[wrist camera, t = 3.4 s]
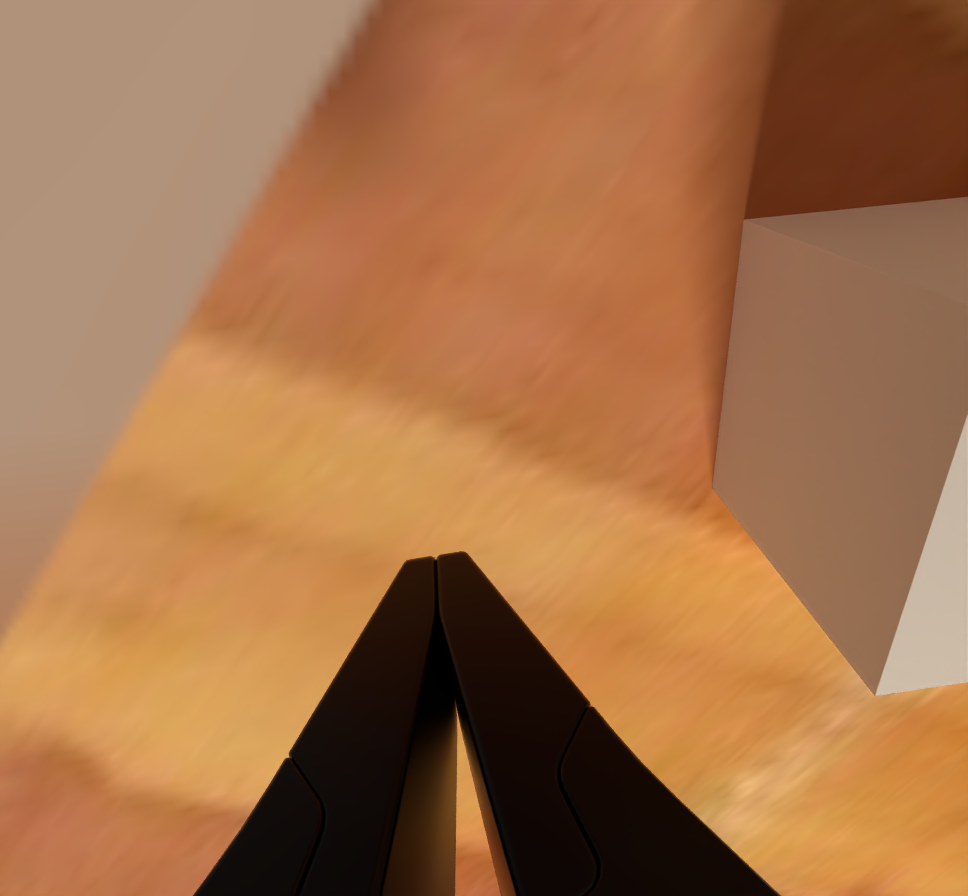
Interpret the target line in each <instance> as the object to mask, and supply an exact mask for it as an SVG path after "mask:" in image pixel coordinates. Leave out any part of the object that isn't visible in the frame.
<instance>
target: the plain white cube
mask: <svg viewBox="0 0 968 896" xmlns="http://www.w3.org/2000/svg"><path fill="white" fill-rule="evenodd" d="M712 489H713V490H714V491H715V492H716V494H717V495H718V496H719V497H720V499H721V500H722V501H723V503H724V504H725V505H726V506H727V508H728V509H729V510H730V512H731V513H732V514H733V515H734V517H735V518H736V519H737V520H738V522H739V523H740V524H741V526H742V527H743V528H744V529H745V531H746V532H747V533H748V534H749V536H750V537H751V538H752V540H753V541H754V542H755V543H756V545H757V546H758V547H759V549H760V550H761V551H762V552H763V554H764V555H765V556H766V557H767V559H768V560H769V561H770V563H771V564H772V565H773V566H774V568H775V569H776V570H777V572H778V573H779V574H780V575H781V577H782V578H783V579H784V580H785V582H786V583H787V584H788V586H789V587H790V588H791V589H792V591H793V592H794V593H795V594H796V596H797V597H798V598H799V600H800V601H801V602H802V603H803V605H804V606H805V607H806V609H807V610H808V611H809V612H810V614H811V615H812V616H813V617H814V619H815V620H816V621H817V623H818V624H819V625H820V626H821V628H822V629H823V630H824V632H825V633H826V634H827V635H828V637H829V638H830V639H831V640H832V642H833V643H834V644H835V646H836V647H837V648H838V649H839V651H840V652H841V653H842V655H843V656H844V657H845V658H846V660H847V661H848V662H849V663H850V665H851V666H852V667H853V669H854V670H855V671H856V672H857V674H858V675H859V676H860V677H861V679H862V680H863V681H864V683H865V684H866V685H867V686H868V688H869V689H870V690H871V692H872V693H873V694H874V695H875V696H878V695H885V694H892V693H898V692H905V691H911V690H918V689H925V688H931V687H938V686H945V685H951V684H958V683H964V682H968V197H960V198H950V199H941V200H931V201H921V202H911V203H901V204H892V205H882V206H872V207H862V208H852V209H843V210H833V211H823V212H813V213H803V214H793V215H784V216H774V217H764V218H754V219H744V222H743V230H742V239H741V247H740V256H739V264H738V273H737V281H736V290H735V298H734V307H733V315H732V324H731V332H730V341H729V349H728V358H727V366H726V375H725V383H724V392H723V400H722V409H721V417H720V426H719V434H718V443H717V451H716V460H715V468H714V477H713V485H712Z"/></svg>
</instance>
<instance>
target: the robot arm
mask: <svg viewBox="0 0 968 896" xmlns="http://www.w3.org/2000/svg"><path fill="white" fill-rule="evenodd" d="M456 707H457V711H456ZM457 712H458V717H459V722H460V726H461V731H462V736H463V740H464V744H465V748H466V752H467V756H468V760H469V765H470V769H471V773H472V777H473V781H474V785H475V789H476V794H477V798H478V802H479V806H480V810H481V814H482V819H483V823H484V827H485V831H486V835H487V839H488V843H489V848H490V852H491V856H492V860H493V864H494V868H495V872H496V877H497V881H498V885H499V889H500V893H501V896H781V895H780V894H779V893H778V892H776V891H775V890H774V889H773V888H772V887H771V886H770V885H769V884H768V883H767V882H766V881H765V880H764V879H763V878H762V877H760V876H759V875H758V874H757V873H756V872H755V871H754V870H753V869H752V868H751V867H750V866H749V865H748V864H747V863H746V862H745V861H744V860H742V859H741V858H740V857H739V856H738V855H737V854H736V853H735V852H734V851H733V850H732V849H731V848H730V847H729V846H728V845H727V844H726V843H725V842H723V841H722V840H721V839H720V838H719V837H718V836H717V835H716V834H715V833H714V832H713V831H712V830H711V829H710V828H709V827H708V826H707V825H705V824H704V823H703V822H702V821H701V820H700V819H699V818H698V817H697V816H696V815H695V814H694V813H693V812H692V811H691V810H690V809H689V808H688V807H686V806H685V805H684V804H683V803H682V802H681V801H680V800H679V799H678V798H677V797H676V796H675V795H674V794H673V793H672V792H671V791H670V790H669V789H668V788H667V787H666V786H665V785H664V784H663V783H662V782H661V781H660V780H659V779H658V778H657V777H656V776H655V775H654V774H653V773H652V772H651V771H650V770H649V769H648V768H647V767H646V766H645V765H644V764H643V763H642V762H641V761H640V760H639V759H638V758H637V756H636V755H635V754H634V753H633V752H632V751H631V750H630V749H629V747H628V746H627V745H626V744H625V743H624V742H623V741H622V739H621V738H620V737H619V736H618V735H617V734H616V733H615V732H614V730H613V729H612V728H611V727H610V726H609V724H608V723H607V722H606V721H605V720H604V718H603V717H602V716H601V715H600V713H599V712H598V711H597V710H596V709H595V708H594V707H592V706H591V705H590V702H589V701H588V699H587V698H586V697H585V696H584V695H583V693H582V692H581V691H580V690H579V688H578V687H577V686H576V685H575V684H574V682H573V681H572V680H571V679H570V677H569V676H568V675H567V674H566V673H565V671H564V670H563V669H562V668H561V667H560V665H559V664H558V663H557V662H556V660H555V659H554V658H553V657H552V656H551V654H550V653H549V652H548V651H547V650H546V648H545V647H544V646H543V645H542V643H541V642H540V641H539V640H538V639H537V637H536V636H535V635H534V634H533V633H532V631H531V630H530V629H529V628H528V626H527V625H526V624H525V623H524V622H523V620H522V619H521V618H520V617H519V616H518V614H517V613H516V612H515V611H514V609H513V608H512V607H511V606H510V605H509V603H508V602H507V601H506V600H505V598H504V597H503V596H502V595H501V594H500V592H499V591H498V590H497V589H496V588H495V586H494V585H493V584H492V583H491V581H490V580H489V579H488V578H487V577H486V575H485V574H484V573H483V572H482V571H481V569H480V568H479V567H478V566H477V564H476V563H475V562H474V561H473V560H472V558H471V557H470V556H469V555H468V554H467V553H466V552H464V551H460V552H454V553H448V554H441V555H439V556H438V557H437V559H435V558H434V557H432V556H429V557H422V558H416V559H410V560H407V561H406V562H404V564H403V565H402V567H401V569H400V570H399V572H398V574H397V575H396V577H395V579H394V580H393V582H392V584H391V585H390V587H389V589H388V590H387V592H386V593H385V595H384V597H383V598H382V600H381V602H380V603H379V605H378V607H377V608H376V610H375V612H374V613H373V615H372V617H371V618H370V620H369V622H368V623H367V625H366V626H365V628H364V630H363V631H362V633H361V635H360V636H359V638H358V640H357V641H356V643H355V645H354V646H353V648H352V650H351V651H350V653H349V655H348V656H347V658H346V659H345V661H344V663H343V664H342V666H341V668H340V669H339V671H338V673H337V674H336V676H335V678H334V679H333V681H332V683H331V684H330V686H329V688H328V689H327V691H326V692H325V694H324V696H323V697H322V699H321V701H320V702H319V704H318V706H317V707H316V709H315V711H314V712H313V714H312V716H311V717H310V719H309V721H308V722H307V724H306V725H305V727H304V729H303V730H302V732H301V734H300V735H299V737H298V739H297V740H296V742H295V744H294V745H293V747H292V749H291V750H290V752H289V757H290V758H286V759H285V760H284V761H283V763H282V764H281V766H280V768H279V769H278V771H277V773H276V774H275V776H274V778H273V779H272V781H271V783H270V784H269V786H268V787H267V789H266V791H265V792H264V794H263V795H262V797H261V798H260V800H259V801H258V803H257V805H256V806H255V808H254V809H253V811H252V812H251V814H250V815H249V817H248V819H247V820H246V822H245V823H244V825H243V826H242V828H241V829H240V831H239V832H238V834H237V835H236V836H235V838H234V839H233V841H232V842H231V844H230V845H229V846H228V848H227V849H226V851H225V852H224V853H223V855H222V856H221V858H220V859H219V860H218V862H217V863H216V865H215V866H214V867H213V869H212V870H211V872H210V873H209V874H208V876H207V877H206V879H205V880H204V881H203V883H202V884H201V885H200V887H199V888H198V889H197V891H196V892H195V893H194V895H193V896H455V860H456V789H457Z"/></svg>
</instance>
